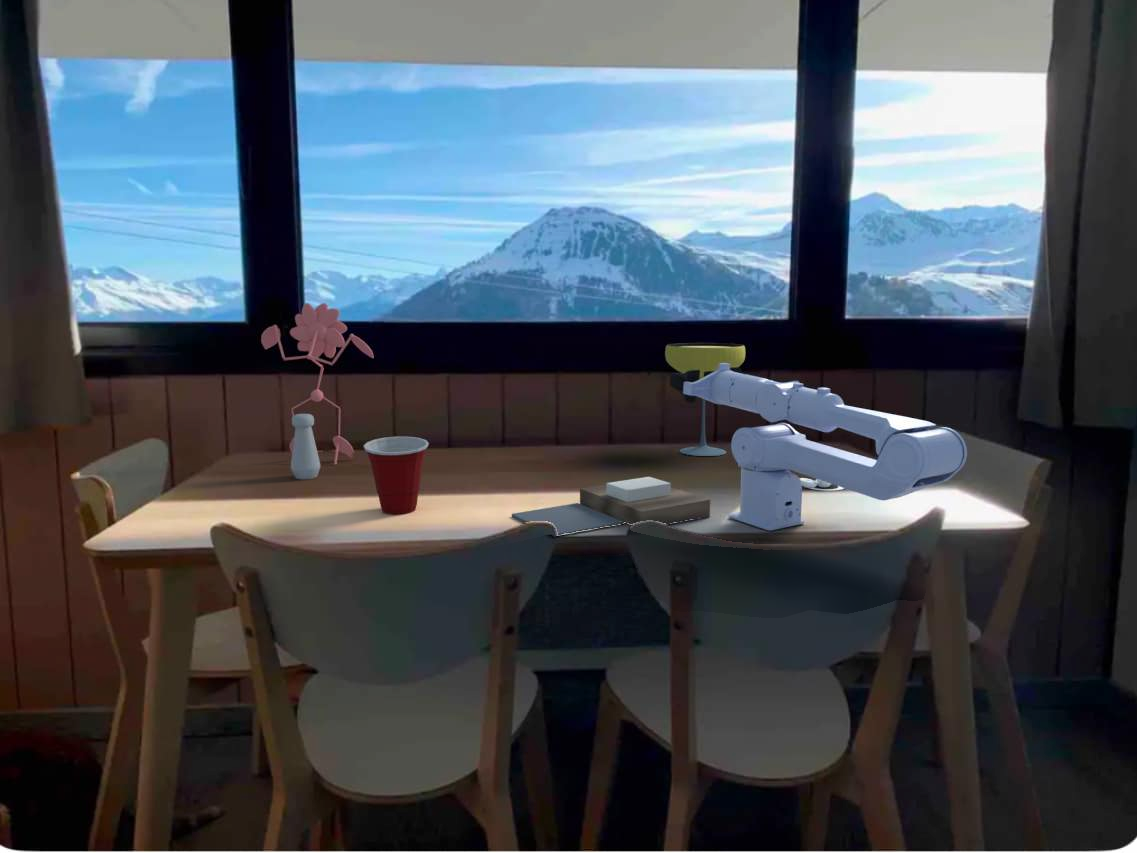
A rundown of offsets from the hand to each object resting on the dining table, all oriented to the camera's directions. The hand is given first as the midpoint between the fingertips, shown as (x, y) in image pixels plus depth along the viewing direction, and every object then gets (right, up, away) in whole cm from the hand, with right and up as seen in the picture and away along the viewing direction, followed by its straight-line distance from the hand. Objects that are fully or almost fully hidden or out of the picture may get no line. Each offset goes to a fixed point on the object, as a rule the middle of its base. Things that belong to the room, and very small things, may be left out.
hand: (688, 378), depth 144 cm
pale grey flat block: (-10, -20, -8) cm, 24 cm away
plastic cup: (-51, -23, -6) cm, 56 cm away
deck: (-9, -23, -7) cm, 26 cm away
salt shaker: (-75, -19, +20) cm, 80 cm away
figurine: (-76, -16, +39) cm, 87 cm away
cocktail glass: (+10, -15, +44) cm, 48 cm away
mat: (-22, -24, -12) cm, 35 cm away
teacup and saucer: (+26, -20, +13) cm, 35 cm away
